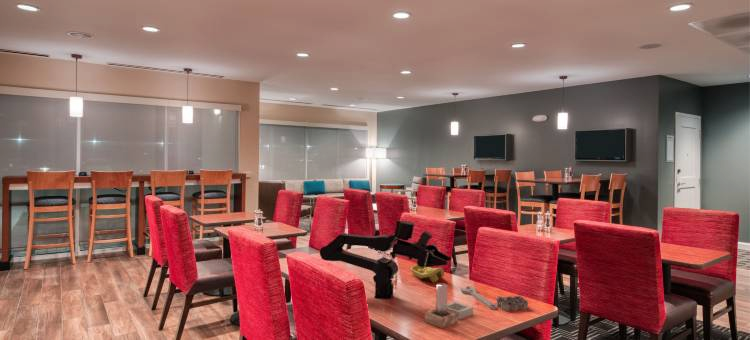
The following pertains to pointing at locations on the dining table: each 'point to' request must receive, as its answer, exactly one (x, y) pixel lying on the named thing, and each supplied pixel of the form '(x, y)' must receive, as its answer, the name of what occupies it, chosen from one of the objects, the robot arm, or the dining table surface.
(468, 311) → the square hollow frame
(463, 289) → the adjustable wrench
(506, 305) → the grey jagged open ring
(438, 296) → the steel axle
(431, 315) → the beige square ring
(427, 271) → the plastic component
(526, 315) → the dining table surface
